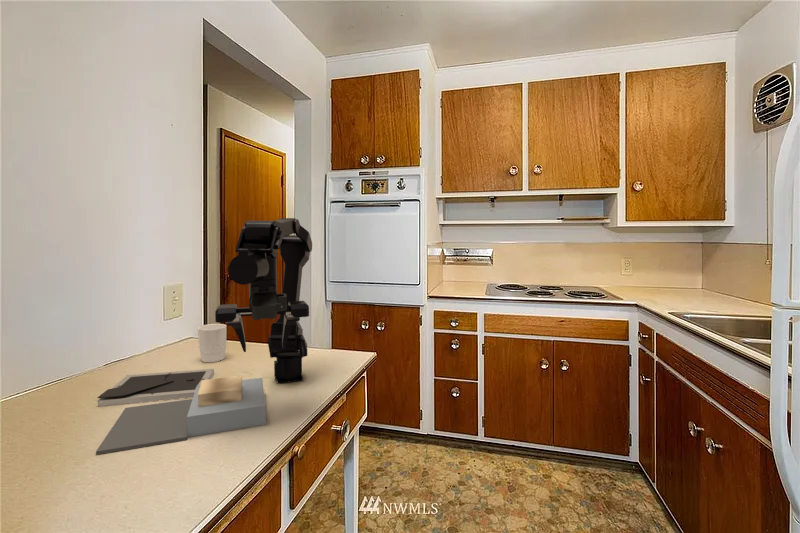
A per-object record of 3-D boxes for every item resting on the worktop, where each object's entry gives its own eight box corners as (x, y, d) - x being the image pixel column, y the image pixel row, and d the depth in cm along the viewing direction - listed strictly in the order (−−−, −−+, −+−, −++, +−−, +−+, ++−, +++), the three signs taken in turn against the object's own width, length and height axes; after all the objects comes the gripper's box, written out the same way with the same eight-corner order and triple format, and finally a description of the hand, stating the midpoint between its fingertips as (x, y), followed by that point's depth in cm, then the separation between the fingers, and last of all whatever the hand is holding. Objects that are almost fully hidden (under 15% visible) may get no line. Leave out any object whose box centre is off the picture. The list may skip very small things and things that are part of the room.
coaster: (241, 386, 88) (241, 375, 88) (241, 400, 81) (241, 388, 80) (202, 391, 85) (202, 380, 85) (198, 406, 78) (197, 394, 77)
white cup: (220, 363, 115) (218, 330, 114) (193, 363, 115) (192, 329, 114) (231, 355, 123) (231, 323, 122) (207, 354, 123) (205, 323, 122)
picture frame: (98, 409, 86) (200, 400, 92) (97, 397, 86) (200, 388, 91) (127, 382, 101) (214, 376, 107) (126, 372, 101) (213, 366, 107)
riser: (262, 393, 94) (262, 377, 93) (265, 424, 79) (265, 405, 79) (197, 402, 89) (196, 385, 88) (187, 437, 74) (186, 416, 73)
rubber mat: (198, 400, 90) (197, 398, 89) (187, 439, 73) (186, 436, 73) (125, 410, 84) (125, 407, 84) (96, 454, 68) (95, 451, 68)
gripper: (211, 285, 73) (214, 366, 74) (312, 281, 80) (313, 356, 81) (216, 278, 84) (218, 350, 85) (305, 276, 90) (306, 342, 91)
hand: (264, 349), depth 85 cm, fingers open, 8 cm apart
